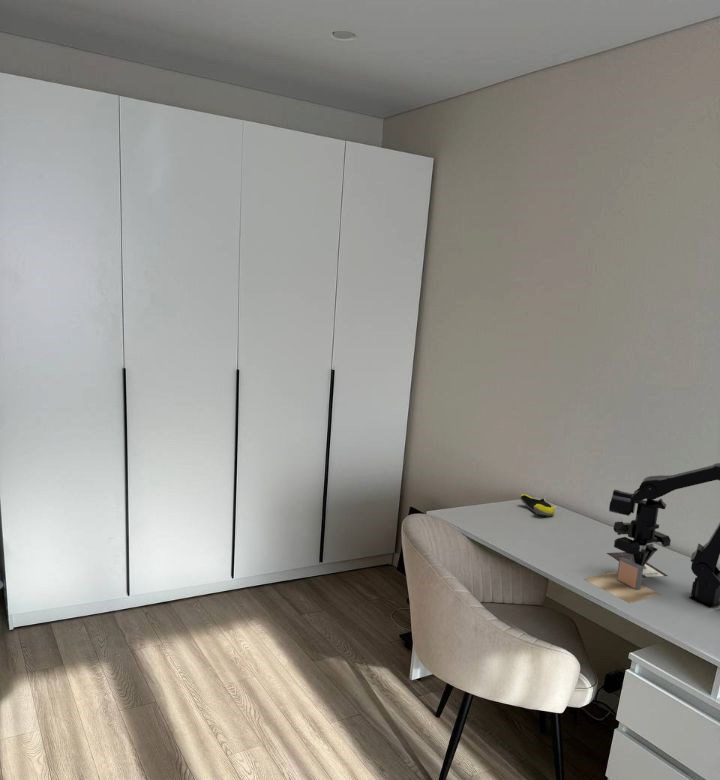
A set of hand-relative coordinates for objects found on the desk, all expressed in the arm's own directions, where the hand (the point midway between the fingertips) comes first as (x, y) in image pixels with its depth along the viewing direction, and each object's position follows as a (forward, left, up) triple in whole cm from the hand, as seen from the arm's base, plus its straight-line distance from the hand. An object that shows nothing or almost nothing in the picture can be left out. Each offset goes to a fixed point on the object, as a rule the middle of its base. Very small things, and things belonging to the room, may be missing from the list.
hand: (638, 569), depth 194 cm
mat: (0, +7, -5) cm, 8 cm away
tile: (0, +4, -4) cm, 6 cm away
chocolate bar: (+9, -12, -5) cm, 16 cm away
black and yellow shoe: (+58, -19, -5) cm, 62 cm away
